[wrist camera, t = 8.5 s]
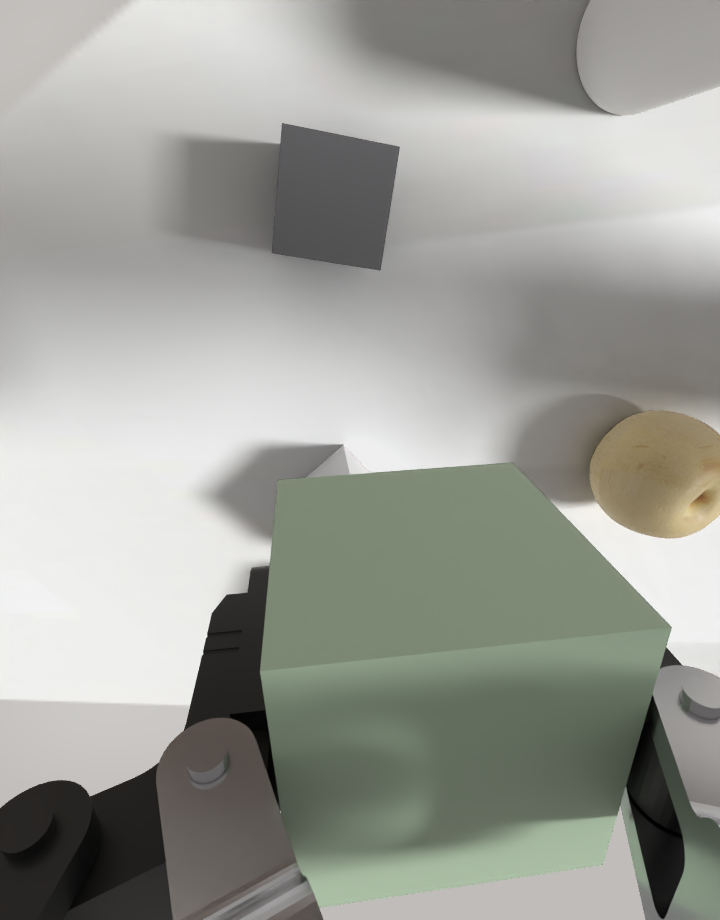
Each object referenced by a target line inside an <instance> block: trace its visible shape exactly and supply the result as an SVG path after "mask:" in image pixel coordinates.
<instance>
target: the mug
mask: <svg viewBox="0 0 720 920" xmlns="http://www.w3.org/2000/svg"><path fill="white" fill-rule="evenodd" d="M576 56H577V67H578V72H579V76H580V79H581V82H582V85H583V87H584V89H585V91H586V93H587V94H588V96H589V97H590V98H591V100H592V101H593V102H594V103H595V104H596V105H597V106H599V107H600V108H602V109H603V110H605V111H607V112H609V113H612V114H617V115H634V114H638V113H642V112H645V111H648V110H651V109H654V108H657V107H660V106H663V105H666V104H669V103H673V102H676V101H679V100H681V99H684V98H687V97H690V96H693V95H696V94H699V93H702V92H705V91H708V90H711V89H714V88H717V87H720V0H590V2H589V4H588V6H587V8H586V10H585V13H584V15H583V18H582V21H581V24H580V28H579V32H578V38H577V49H576Z"/></svg>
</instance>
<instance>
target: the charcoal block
mask: <svg viewBox="0 0 720 920" xmlns="http://www.w3.org/2000/svg"><path fill="white" fill-rule="evenodd" d="M399 148H400V147H398V146H393V145H388V144H383V143H378V142H373V141H368V140H363V139H358V138H353V137H348V136H343V135H338V134H333V133H328V132H324V131H319V130H314V129H309V128H304V127H299V126H294V125H289V124H284V123H282V131H281V144H280V157H279V169H278V182H277V195H276V208H275V221H274V234H273V247H272V253H275V254H281V255H287V256H294V257H300V258H306V259H312V260H319V261H325V262H331V263H337V264H344V265H350V266H356V267H362V268H369V269H375V270H380V269H381V263H382V257H383V250H384V244H385V238H386V231H387V225H388V218H389V212H390V206H391V199H392V193H393V187H394V180H395V174H396V167H397V161H398V155H399Z"/></svg>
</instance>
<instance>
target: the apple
mask: <svg viewBox="0 0 720 920" xmlns="http://www.w3.org/2000/svg"><path fill="white" fill-rule="evenodd" d="M589 478H590V485H591V489H592V492H593V495H594V497H595V499H596V501H597V503H598V504H599V506H600V507H601V508H602V510H603V511H604V512H605V513H606V514H607V515H608V516H609V517H610V518H611V519H613V520H614V521H615V522H617V523H618V524H620V525H622V526H624V527H626V528H628V529H630V530H632V531H635V532H638V533H641V534H645V535H649V536H653V537H659V538H681V537H685V536H688V535H691V534H694V533H696V532H698V531H700V530H701V529H703V528H705V527H706V526H707V525H708V524H710V523H711V522H712V521H714V520H715V519H716V518H717V517H718V516H719V515H720V435H719V434H718V433H717V432H716V431H715V430H714V429H712V428H711V427H710V426H708V425H706V424H705V423H703V422H701V421H699V420H697V419H695V418H692V417H689V416H686V415H684V414H679V413H675V412H669V411H646V412H641V413H638V414H634V415H631V416H629V417H627V418H625V419H624V420H622V421H621V422H619V423H618V424H617V425H616V426H614V427H613V428H612V429H611V430H610V431H609V432H608V433H607V434H606V435H605V436H604V438H603V439H602V440H601V442H600V443H599V444H598V446H597V448H596V450H595V452H594V454H593V456H592V459H591V462H590V472H589Z"/></svg>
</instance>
